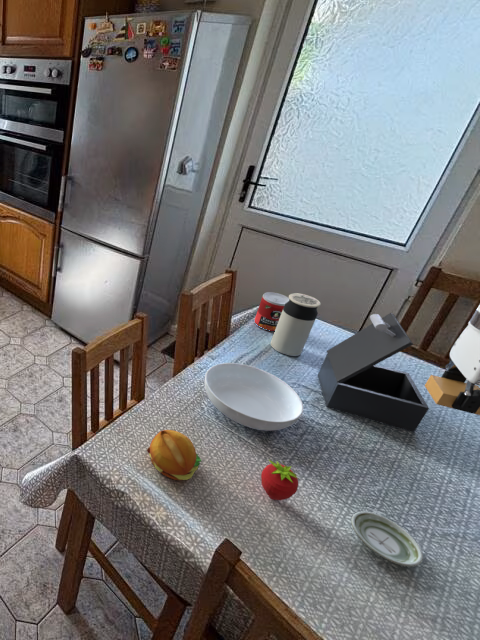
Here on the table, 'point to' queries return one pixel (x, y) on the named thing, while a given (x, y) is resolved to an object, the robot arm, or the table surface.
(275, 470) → the strawberry
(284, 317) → the travel mug
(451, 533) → the table surface
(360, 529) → the saucer
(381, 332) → the lid
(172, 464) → the cheeseburger
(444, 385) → the brown rectangular block
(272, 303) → the canned food
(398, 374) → the lidded storage box
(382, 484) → the table surface
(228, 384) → the serving bowl
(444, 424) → the table surface
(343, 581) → the table surface
